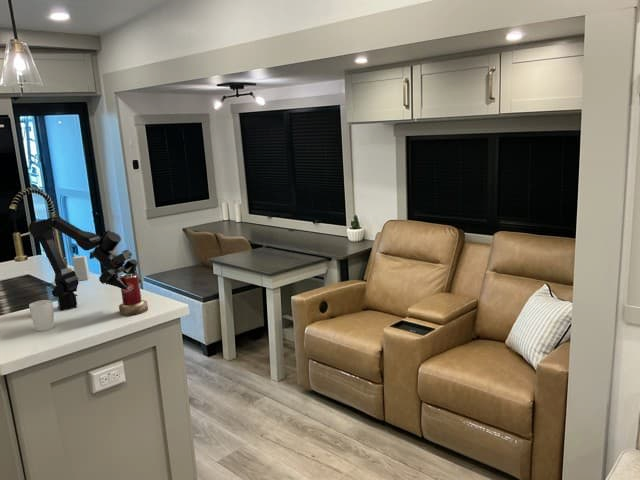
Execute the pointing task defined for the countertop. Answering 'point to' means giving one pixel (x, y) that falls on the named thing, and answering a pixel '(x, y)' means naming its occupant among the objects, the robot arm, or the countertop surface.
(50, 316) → the white cup
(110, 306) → the countertop surface
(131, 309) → the pedestal
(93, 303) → the countertop surface
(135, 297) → the soda can
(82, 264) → the skincare box
